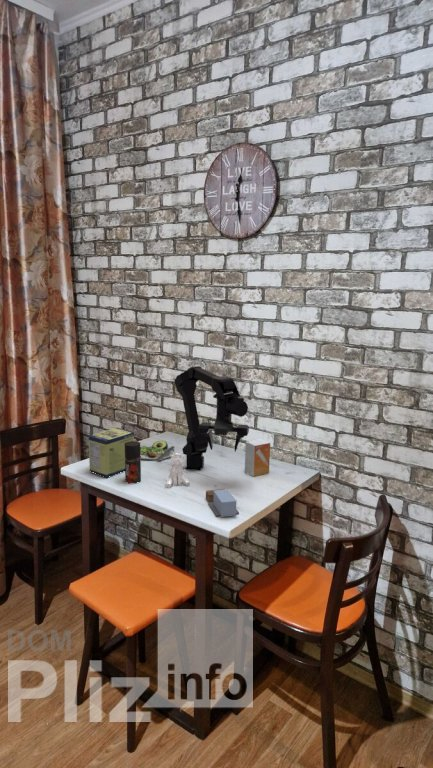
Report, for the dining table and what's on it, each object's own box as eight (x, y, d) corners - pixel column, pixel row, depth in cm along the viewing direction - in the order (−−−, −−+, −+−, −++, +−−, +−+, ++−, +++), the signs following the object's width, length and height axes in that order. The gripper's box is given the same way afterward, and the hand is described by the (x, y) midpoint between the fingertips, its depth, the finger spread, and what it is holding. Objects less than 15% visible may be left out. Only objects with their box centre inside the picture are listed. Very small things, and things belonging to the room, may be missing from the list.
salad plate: (178, 462, 224) (178, 452, 223) (136, 464, 221) (135, 454, 220) (173, 448, 243) (173, 438, 242) (134, 449, 240) (134, 440, 239)
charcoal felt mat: (208, 504, 183) (208, 502, 182) (230, 502, 185) (230, 500, 185) (216, 516, 173) (216, 515, 173) (239, 514, 175) (239, 512, 175)
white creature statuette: (165, 488, 196) (165, 458, 193) (162, 480, 204) (162, 450, 201) (190, 487, 198) (190, 456, 195) (186, 478, 206) (186, 449, 204)
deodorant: (143, 479, 205) (143, 442, 202) (136, 484, 199) (135, 446, 196) (130, 476, 206) (129, 440, 203) (122, 482, 201) (121, 445, 198)
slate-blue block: (213, 490, 180) (221, 502, 171) (227, 489, 182) (236, 500, 172) (213, 504, 181) (221, 516, 172) (227, 502, 183) (236, 515, 173)
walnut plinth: (205, 498, 187) (205, 490, 187) (224, 496, 189) (224, 488, 189) (208, 503, 184) (208, 495, 183) (227, 500, 186) (227, 493, 185)
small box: (253, 477, 208) (254, 445, 206) (244, 472, 213) (245, 441, 211) (269, 473, 213) (270, 442, 210) (259, 468, 218) (260, 438, 215)
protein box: (135, 467, 217) (134, 431, 214) (106, 478, 204) (105, 440, 201) (117, 462, 223) (116, 427, 220) (88, 472, 210) (87, 435, 207)
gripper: (195, 414, 192) (195, 455, 195) (245, 418, 189) (244, 459, 192) (201, 407, 202) (201, 446, 206) (249, 410, 199) (248, 449, 202)
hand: (223, 450), depth 201 cm, fingers open, 9 cm apart
